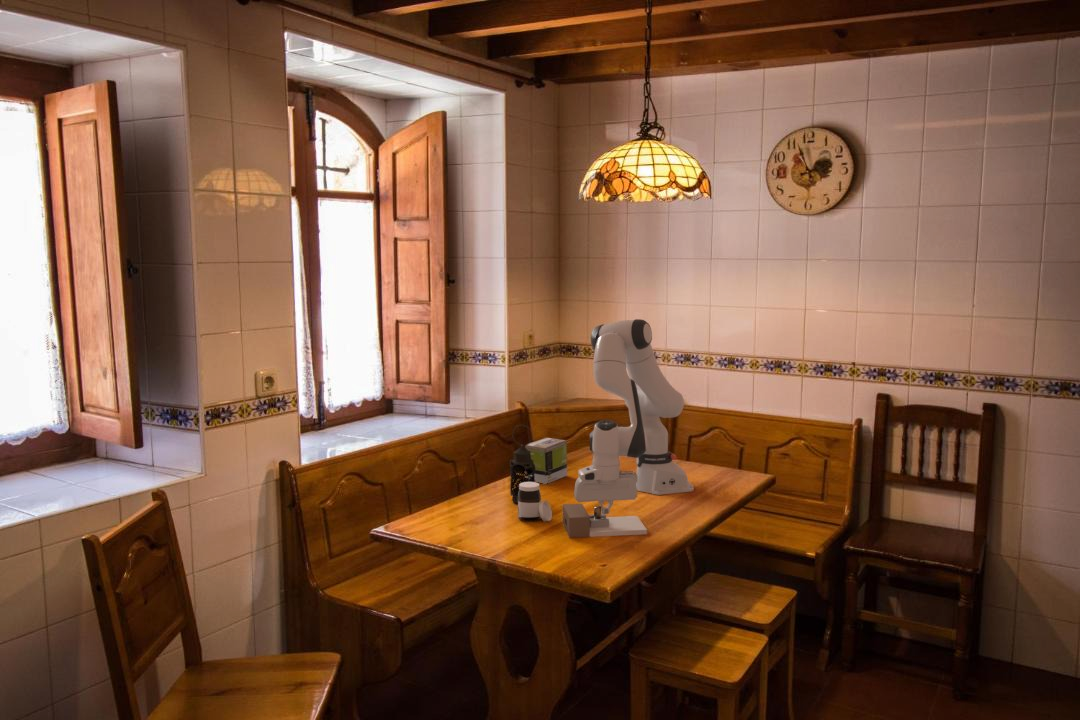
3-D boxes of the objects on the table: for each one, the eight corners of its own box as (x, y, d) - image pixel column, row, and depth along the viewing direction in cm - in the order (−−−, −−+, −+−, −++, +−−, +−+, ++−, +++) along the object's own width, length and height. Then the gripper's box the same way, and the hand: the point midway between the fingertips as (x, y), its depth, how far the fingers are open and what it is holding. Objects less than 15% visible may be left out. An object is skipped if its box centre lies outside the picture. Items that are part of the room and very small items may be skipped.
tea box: (547, 472, 348) (547, 436, 346) (567, 476, 342) (567, 439, 340) (524, 481, 336) (524, 443, 334) (545, 485, 330) (545, 447, 328)
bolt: (602, 522, 281) (603, 505, 281) (604, 525, 279) (604, 507, 278) (572, 524, 280) (572, 506, 279) (573, 526, 278) (573, 509, 277)
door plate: (636, 520, 289) (637, 501, 288) (647, 534, 275) (647, 514, 274) (562, 523, 286) (562, 504, 285) (569, 537, 272) (569, 517, 271)
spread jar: (517, 513, 296) (517, 480, 295) (550, 512, 297) (550, 479, 295) (519, 525, 284) (518, 490, 283) (553, 524, 285) (553, 489, 284)
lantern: (505, 503, 308) (504, 426, 304) (514, 496, 316) (514, 421, 312) (531, 506, 304) (530, 428, 300) (540, 499, 313) (539, 423, 309)
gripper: (635, 468, 282) (634, 509, 284) (573, 470, 280) (573, 511, 282) (639, 473, 276) (639, 515, 278) (576, 475, 273) (576, 517, 275)
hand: (605, 513), depth 280 cm, fingers closed
